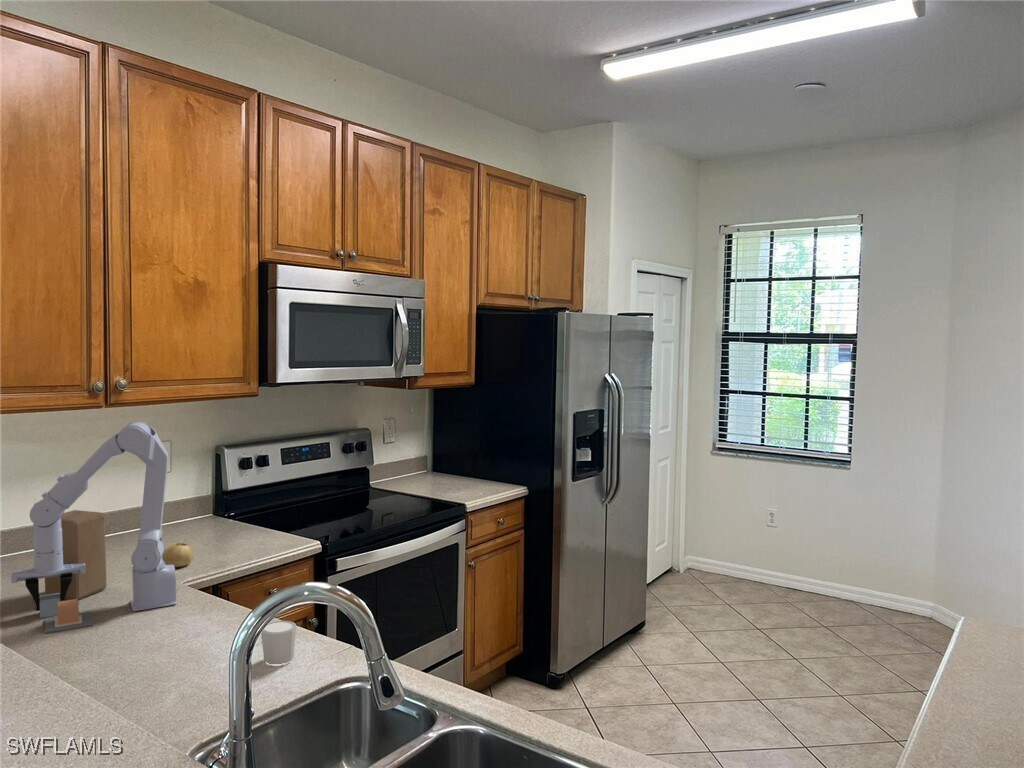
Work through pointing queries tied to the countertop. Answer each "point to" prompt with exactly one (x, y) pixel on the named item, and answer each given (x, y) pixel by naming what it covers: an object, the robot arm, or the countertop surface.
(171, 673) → the countertop surface
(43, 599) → the blue brick
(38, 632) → the countertop surface
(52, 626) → the mat
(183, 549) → the onion
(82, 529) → the wooden block
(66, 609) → the terracotta brick
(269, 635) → the white tapered cup
